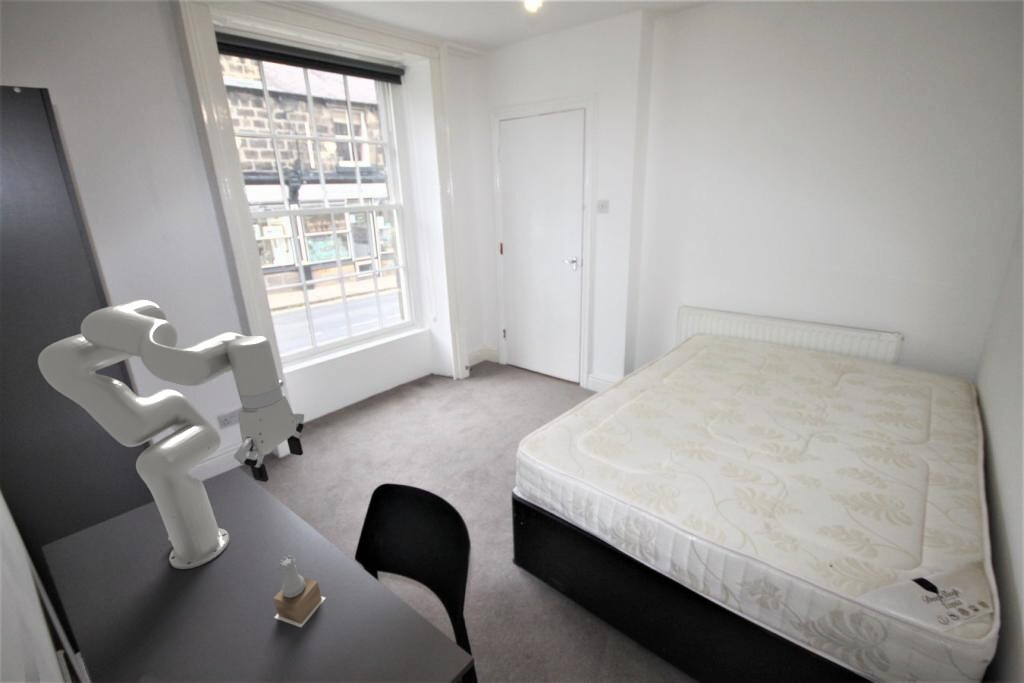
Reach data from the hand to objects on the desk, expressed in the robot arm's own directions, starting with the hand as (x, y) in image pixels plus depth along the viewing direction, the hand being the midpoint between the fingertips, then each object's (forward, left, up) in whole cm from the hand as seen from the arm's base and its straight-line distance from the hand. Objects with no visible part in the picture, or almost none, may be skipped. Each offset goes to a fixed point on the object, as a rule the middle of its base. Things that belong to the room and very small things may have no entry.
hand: (280, 466), depth 98 cm
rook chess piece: (+8, -10, -22) cm, 26 cm away
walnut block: (+8, -10, -27) cm, 30 cm away
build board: (+7, -10, -28) cm, 31 cm away
